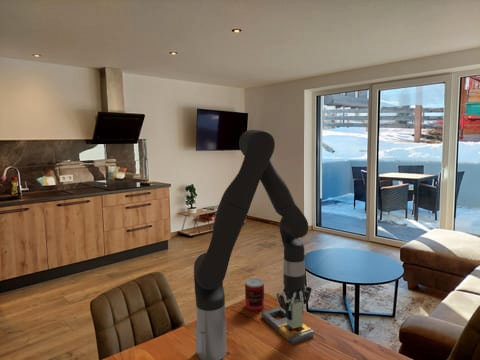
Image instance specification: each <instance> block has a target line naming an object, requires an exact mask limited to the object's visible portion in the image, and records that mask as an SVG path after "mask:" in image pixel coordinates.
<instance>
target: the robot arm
mask: <svg viewBox="0 0 480 360" xmlns="http://www.w3.org/2000/svg"><path fill="white" fill-rule="evenodd" d="M238 145H239V149H240V152H241V153H242V155H243V156H244V157H243V160H242V163H241V166H240V168H239V170H238V173H237V174H236V175H235V177H234V178H233V180H232V181H231V182H230V184H229V185H228V186H227V187H226V189H225V191H224V192H223V194H222V196H221V199H220V201H219V204H218V207H217V210H216V213H215V217H214V222H213V226H212V233H211V239H210V242H209V246H208V249H207V251H206V252H203V253H202V254H200V255H199V256H198V257H197V258H196V259H195V262H194V264H193V281H194V296H195V308H196V309H195V310H196V311H195V312H196V325H195V326H194V331H195V333H194V334H195V353H196V355H197V356H198V358H199V360H222V359H224V358H225V357H226V355H227V328H226V327H227V325H226V299H225V298H226V297H225V290H224V283H223V282H224V280H225V277H226V275H227V271H228V267H229V263H230V261H231V256H232V252H233V250H234V247H235V245H236V243H237V240H238V238H239V235H240V233H241V230H242V228H243V226H244V223H245V221H246V219H247V216H248V214H249V211H250V208H251V205H252V202H253V200H254V197H255V194H256V192H257V189H258V186H259V183H260V182H261V184H262V187H263V188H264V191H265V192H266V193H267V196H268V198H269V201H270V202H271V204H272V206H273V208H274V210H275V212H276V213H277V215H279V216H281V219H280V221H279V234H280V239H281V241H282V245H283V263H282V265H283V266H282V268H283V279H282V280H283V291H281V292H280V293H279V292H277V293H276V298H277V301H278V304H279V307H281V308H282V309H284V310H285V311H286V318H287V319H288V320H292V310H291V309H292V304H294V300H296V299H298V300H300V301H302V302H303V307H304V306H305V305H308V304H309V301H310V296H311V294H312V290H313V288H312V287H310V286H309V285H306V262H305V245H304V243H303V242H302V241H301V240H300V239H299V238H304V237H305V236H306V235H308V232H309V221H308V219H307V218H306V216H305V215H304V213H303V211H302V210H301V208H299V206H298V205H297V204H296V202H295V201H294V198H293V196H292V193H291V191H290V190H289V187H288V185H287V184H286V182H285V180H284V179H283V177H281V175H280V174H279V172H278V171H277V169H276V168H275V167H274V165H273V163H272V161H271V158H272V157H273V154H274V153H275V146H276V143H275V139H274V136H273V134H271V132H269V131H266V130H261V129H248V130H246V131H244V132H243V133H242V134H241V136H240V137H239V141H238ZM289 299H290V300H291V301H290V300H289ZM288 303H289V306H288Z"/></svg>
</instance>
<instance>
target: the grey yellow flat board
mask: <svg viewBox="0 0 480 360" xmlns="http://www.w3.org/2000/svg"><path fill="white" fill-rule="evenodd" d="M279 316H282V317H283V318H280V319H276V318H275V317H279ZM261 318H262V319H264V320H265V321H266V322H267V323H268V324H269V325H270V326H272V328H273V329H275V330H276V331H277V332H278V333H279V334H280V335H281V336H282V337H283V338H285V339H286V340H287V341H288V342H289V343H291V345H294V344H297V343H300V342H302V341H305V340H309V339H311V338H314V330H313V329H312V328H311V327H308V325H306V324H305V323H303V326H300V327H297V328H296V329H298V330H299V331H296V332H293V333H292V332H291V331H290V330H293V328H292V327H291V326H289V325H288V324H287V318H286V311H285V310H284V309H282V308H281V307H280V306H278V307H277V306H276V307H275V308H271V309H268V310H265V311H262V312H261Z"/></svg>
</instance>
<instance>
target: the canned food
mask: <svg viewBox="0 0 480 360" xmlns="http://www.w3.org/2000/svg"><path fill="white" fill-rule="evenodd" d="M244 290H245V291H244V292H245V293H244V295H245V307H246V309H247V310H248V311H250V312H253V313H254V312H261V311H263V310H264V307H265V282H264V280H263V279H261V278H258V277H252V278H248V279H246V280H245V281H244Z"/></svg>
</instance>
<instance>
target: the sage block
mask: <svg viewBox="0 0 480 360" xmlns="http://www.w3.org/2000/svg"><path fill="white" fill-rule="evenodd" d="M289 300H290V299H289ZM290 301H291V300H290ZM288 306H289V303H288ZM291 310H292V320H288V319H287V324H288V325H289V326H291V327H292V330H293V329H298V328H297V327H300V326H303V324H304V322H303V319H304V318H303V315H304V306H303V302H302V301H300V300H298V299H296V300H294V304H292V309H291Z"/></svg>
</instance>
